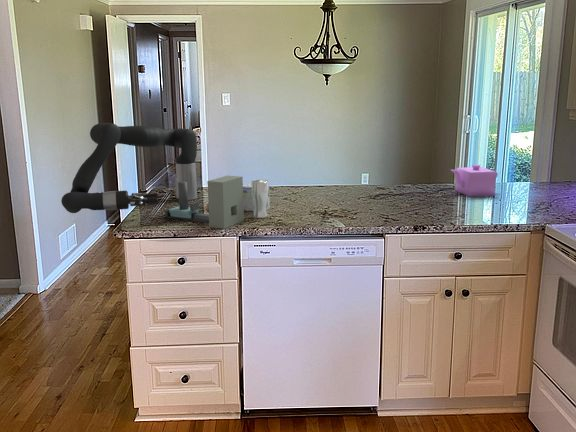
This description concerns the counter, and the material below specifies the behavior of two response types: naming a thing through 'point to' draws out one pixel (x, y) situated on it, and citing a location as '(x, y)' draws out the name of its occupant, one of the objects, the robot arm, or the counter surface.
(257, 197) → the beer glass
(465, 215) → the counter surface
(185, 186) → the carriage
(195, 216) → the rail
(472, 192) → the teapot
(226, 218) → the end cabinet
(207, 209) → the gauge plunger
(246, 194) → the light bulb box
